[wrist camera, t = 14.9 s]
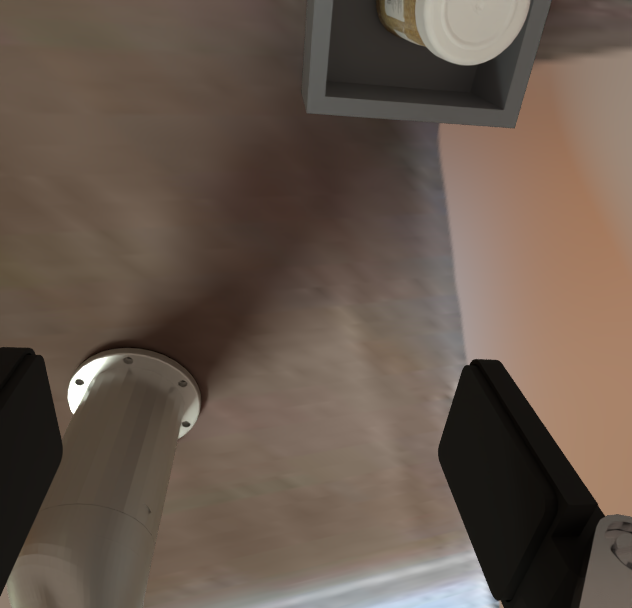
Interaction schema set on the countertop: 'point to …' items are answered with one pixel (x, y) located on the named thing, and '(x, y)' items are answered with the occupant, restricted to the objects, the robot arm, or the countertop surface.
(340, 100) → the bin
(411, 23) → the sprinkles bottle
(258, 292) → the countertop surface
